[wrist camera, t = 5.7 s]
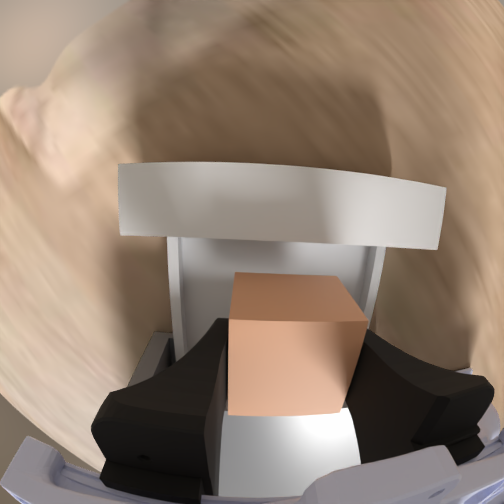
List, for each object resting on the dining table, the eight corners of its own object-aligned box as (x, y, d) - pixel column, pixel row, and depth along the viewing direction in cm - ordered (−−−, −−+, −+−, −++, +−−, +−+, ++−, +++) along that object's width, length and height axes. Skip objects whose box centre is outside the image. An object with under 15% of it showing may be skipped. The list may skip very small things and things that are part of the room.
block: (336, 275, 13) (368, 320, 9) (321, 356, 14) (339, 413, 10) (234, 271, 12) (228, 319, 9) (232, 356, 14) (228, 415, 10)
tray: (400, 179, 15) (446, 187, 11) (362, 366, 19) (383, 409, 15) (153, 163, 15) (118, 164, 11) (165, 363, 19) (148, 409, 14)
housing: (375, 336, 19) (414, 397, 13) (331, 455, 24) (343, 505, 18) (154, 331, 19) (122, 397, 13) (178, 453, 24) (168, 506, 17)
